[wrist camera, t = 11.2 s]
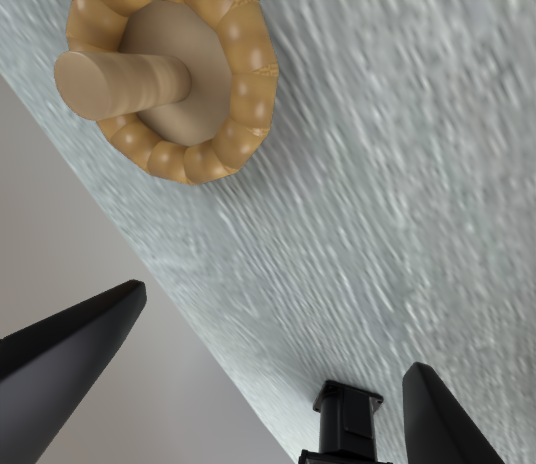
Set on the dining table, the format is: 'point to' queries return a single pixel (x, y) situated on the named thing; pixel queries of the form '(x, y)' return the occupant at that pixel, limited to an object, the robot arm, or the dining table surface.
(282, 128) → the dining table surface
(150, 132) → the ring
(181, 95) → the stand
